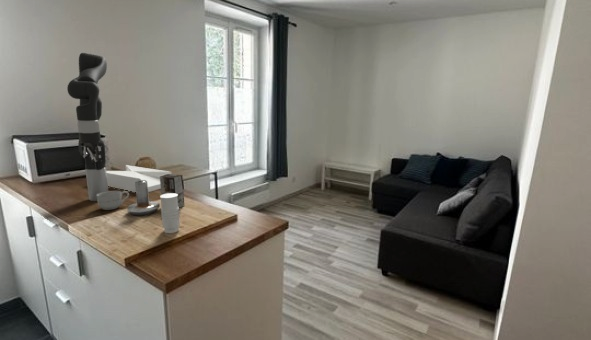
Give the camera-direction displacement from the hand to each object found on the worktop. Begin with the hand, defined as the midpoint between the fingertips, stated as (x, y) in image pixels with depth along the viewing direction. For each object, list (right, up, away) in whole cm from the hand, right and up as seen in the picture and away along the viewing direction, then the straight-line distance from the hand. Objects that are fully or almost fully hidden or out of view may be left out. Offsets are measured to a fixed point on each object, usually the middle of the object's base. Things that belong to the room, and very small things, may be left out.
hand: (93, 167), depth 135 cm
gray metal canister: (+14, -18, +15) cm, 27 cm away
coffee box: (+25, -20, +24) cm, 40 cm away
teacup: (-3, -20, +21) cm, 29 cm away
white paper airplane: (-16, -11, +65) cm, 68 cm away
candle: (+36, -26, -6) cm, 45 cm away
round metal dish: (+14, -21, +16) cm, 30 cm away
